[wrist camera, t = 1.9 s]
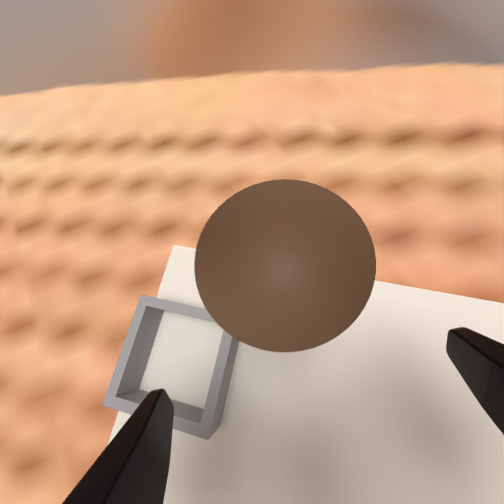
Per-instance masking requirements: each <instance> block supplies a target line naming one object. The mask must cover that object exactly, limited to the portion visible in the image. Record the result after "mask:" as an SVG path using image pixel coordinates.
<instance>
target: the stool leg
mask: <svg viewBox="0 0 504 504" xmlns="http://www.w3.org/2000/svg"><path fill="white" fill-rule="evenodd" d="M194 272H195V280H196V286H197V289H198V292H199V295H200V298H201V300H202V302H203V304H204V306H205V308H206V309H207V311H208V313H209V314H210V316H211V317H212V318H213V319H214V320H215V322H216V323H217V324H218V325H219V326H220V327H221V328H222V329H223V330H225V331H226V332H227V333H228V334H230V335H231V336H233V337H234V338H236V339H237V340H239V341H241V342H243V343H245V344H247V345H249V346H252V347H255V348H258V349H261V350H266V351H272V352H297V351H304V350H308V349H312V348H315V347H318V346H320V345H323V344H325V343H327V342H329V341H331V340H332V339H334V338H336V337H337V336H339V335H340V334H341V333H343V332H344V331H345V330H346V329H348V328H349V327H350V326H351V325H352V324H353V322H354V321H355V320H356V319H357V318H358V317H359V315H360V314H361V312H362V311H363V309H364V308H365V306H366V304H367V302H368V300H369V298H370V295H371V292H372V289H373V286H374V280H375V274H376V258H375V250H374V246H373V242H372V239H371V236H370V234H369V232H368V229H367V227H366V226H365V224H364V222H363V221H362V219H361V217H360V216H359V215H358V214H357V212H356V211H355V210H354V209H353V208H352V207H351V206H350V205H349V204H348V203H347V202H346V201H345V200H343V199H342V198H341V197H339V196H338V195H337V194H335V193H333V192H331V191H330V190H328V189H326V188H323V187H321V186H318V185H316V184H312V183H309V182H304V181H298V180H272V181H267V182H262V183H259V184H255V185H252V186H250V187H248V188H245V189H243V190H241V191H240V192H238V193H236V194H234V195H233V196H232V197H230V198H229V199H227V200H226V201H225V202H224V203H223V204H222V205H221V206H219V207H218V209H217V210H216V211H215V212H214V213H213V214H212V216H211V217H210V219H209V220H208V221H207V223H206V225H205V227H204V229H203V230H202V232H201V235H200V238H199V240H198V243H197V248H196V252H195V261H194Z"/></svg>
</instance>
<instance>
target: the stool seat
mask: <svg viewBox="0 0 504 504" xmlns="http://www.w3.org/2000/svg"><path fill="white" fill-rule="evenodd" d="M195 252H196V249H194V248H189V247H183V246H177V245H174V246H173V249H172V252H171V255H170V258H169V261H168V264H167V267H166V270H165V273H164V276H163V279H162V282H161V285H160V288H159V291H158V294H157V297H156V298H155V297H150V296H146V295H141V296H140V299H139V302H138V305H137V307H136V310H135V313H134V316H133V319H132V322H131V325H130V327H129V330H128V333H127V336H126V339H125V342H124V345H123V347H122V350H121V353H120V356H119V359H118V362H117V365H116V367H115V370H114V373H113V376H112V379H111V382H110V385H109V387H108V390H107V393H106V396H105V399H104V402H103V406H106V407H109V408H112V409H115V410H118V411H119V412H118V415H117V418H116V421H115V424H114V427H113V430H112V433H111V436H110V439H109V442H108V444H109V443H110V442H111V441H112V439H113V438H114V437H115V435H116V434H117V433H118V432H119V430H120V429H121V428H122V426H123V425H124V424H125V423H126V421H127V420H128V419H129V418H130V416H131V415H132V414H133V412H134V411H135V410H136V409H137V407H138V406H139V405H140V403H141V402H142V401H143V400H144V398H145V397H146V396H147V395H148V393H149V392H150V391H152V390H156V389H161V388H163V389H165V391H166V392H167V394H168V396H169V397H170V399H171V401H172V403H173V406H174V419H173V431H172V444H171V456H170V466H169V472H168V478H167V484H166V490H165V496H164V502H163V504H504V435H503V434H502V432H501V431H500V430H499V428H498V427H497V426H496V425H495V423H494V422H493V421H492V420H491V418H490V417H489V416H488V414H487V413H486V412H485V411H484V409H483V408H482V407H481V405H480V404H479V402H478V401H477V399H476V398H475V396H474V395H473V393H472V392H471V390H470V389H469V387H468V386H467V384H466V383H465V381H464V379H463V378H462V376H461V375H460V373H459V372H458V370H457V369H456V367H455V366H454V364H453V363H452V361H451V360H450V358H449V356H448V354H447V352H446V343H447V334H448V331H449V330H450V329H453V328H458V327H466V328H468V329H471V330H473V331H475V332H477V333H480V334H482V335H484V336H487V337H489V338H491V339H493V340H496V341H498V342H500V343H502V344H504V303H498V302H493V301H487V300H481V299H476V298H470V297H464V296H459V295H453V294H448V293H442V292H436V291H431V290H425V289H419V288H414V287H408V286H403V285H397V284H391V283H386V282H380V281H374V286H373V289H372V292H371V295H370V298H369V300H368V302H367V304H366V306H365V308H364V309H363V311H362V312H361V314H360V315H359V317H358V318H357V319H356V320H355V321H354V322H353V324H352V325H351V326H350V327H349V328H348V329H346V330H345V331H344V332H343V333H341V334H340V335H339V336H337V337H336V338H334V339H332V340H331V341H329V342H327V343H325V344H323V345H320V346H318V347H315V348H312V349H308V350H304V351H297V352H272V351H266V350H261V349H258V348H255V347H252V346H249V345H247V344H245V343H243V342H241V341H239V340H237V339H236V338H234V337H233V336H231V335H230V334H228V333H227V332H226V331H225V330H223V329H222V328H221V327H220V326H219V325H218V324H217V323H216V322H215V320H214V319H213V318H212V317H211V316H210V314H209V313H208V311H207V309H206V308H205V306H204V304H203V302H202V300H201V298H200V295H199V292H198V289H197V286H196V280H195V272H194V261H195ZM107 446H108V445H107Z"/></svg>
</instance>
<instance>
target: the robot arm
mask: <svg viewBox="0 0 504 504" xmlns="http://www.w3.org/2000/svg"><path fill="white" fill-rule="evenodd" d="M446 352H447V354H448V356H449V358H450V360H451V361H452V363H453V364H454V366H455V367H456V369H457V370H458V372H459V373H460V375H461V376H462V378H463V379H464V381H465V383H466V384H467V386H468V387H469V389H470V390H471V392H472V393H473V395H474V396H475V398H476V399H477V401H478V402H479V404H480V405H481V407H482V408H483V409H484V411H485V412H486V413H487V414H488V416H489V417H490V418H491V420H492V421H493V422H494V423H495V425H496V426H497V427H498V428H499V430H500V431H501V432H502V434H503V435H504V344H502V343H500V342H498V341H496V340H493V339H491V338H489V337H487V336H484V335H482V334H480V333H477V332H475V331H473V330H471V329H468V328H466V327H458V328H453V329H450V330H449V331H448V334H447V343H446ZM173 419H174V406H173V403H172V401H171V399H170V397H169V396H168V394H167V392H166V391H165V389H163V388H161V389H156V390H152V391H150V392H149V393H148V395H147V396H146V397H145V398H144V400H143V401H142V402H141V403H140V405H139V406H138V407H137V409H136V410H135V411H134V412H133V414H132V415H131V416H130V418H129V419H128V420H127V421H126V423H125V424H124V425H123V426H122V428H121V429H120V430H119V432H118V433H117V434H116V435H115V437H114V438H113V439H112V441H111V442H110V443H109V444H108V446H107V447H106V448H105V449H104V451H103V452H102V453H101V455H100V456H99V457H98V458H97V460H96V461H95V462H94V464H93V465H92V466H91V467H90V469H89V470H88V471H87V472H86V474H85V475H84V476H83V478H82V479H81V480H80V481H79V483H78V484H77V485H76V487H75V488H74V489H73V490H72V492H71V493H70V494H69V495H68V497H67V498H66V499H65V501H64V502H63V503H62V504H163V502H164V496H165V490H166V484H167V478H168V472H169V466H170V456H171V444H172V431H173Z"/></svg>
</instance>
